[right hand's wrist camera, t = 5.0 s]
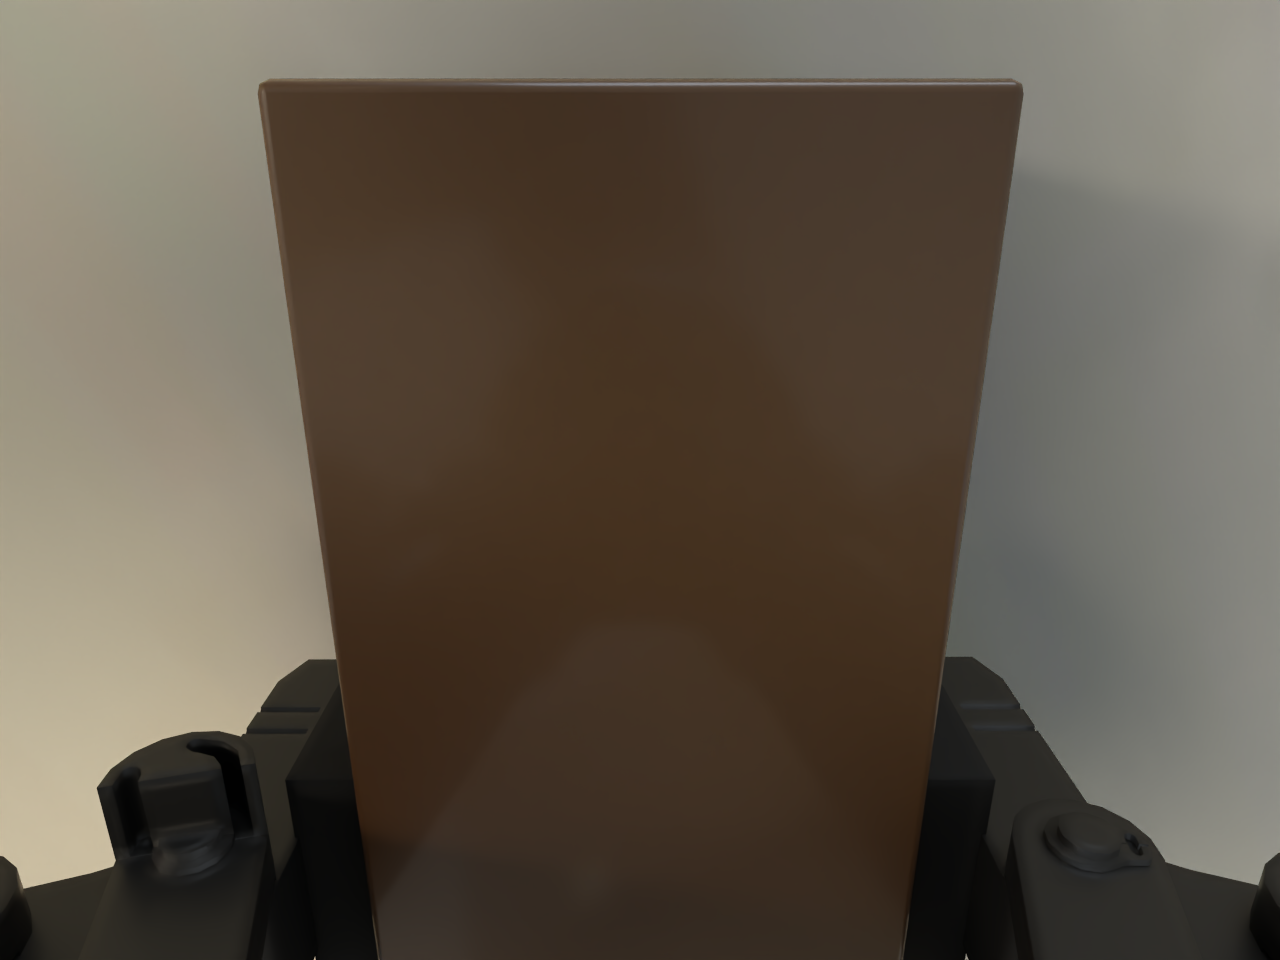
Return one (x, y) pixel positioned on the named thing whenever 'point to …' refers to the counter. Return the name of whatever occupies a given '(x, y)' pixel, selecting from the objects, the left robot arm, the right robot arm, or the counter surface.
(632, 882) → the bar
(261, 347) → the counter surface
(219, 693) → the counter surface
